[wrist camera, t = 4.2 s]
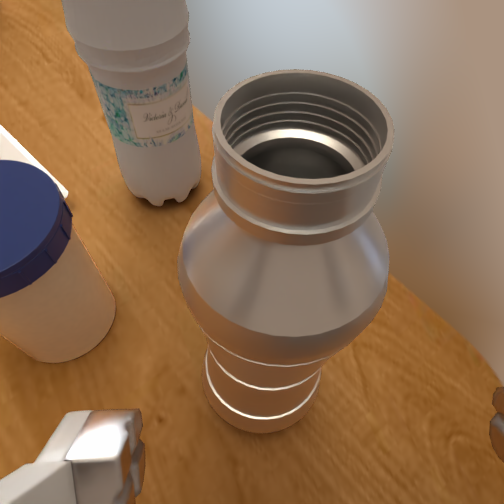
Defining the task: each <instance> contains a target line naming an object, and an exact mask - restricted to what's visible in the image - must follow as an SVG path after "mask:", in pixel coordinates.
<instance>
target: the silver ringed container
mask: <svg viewBox="0 0 504 504" xmlns="http://www.w3.org/2000/svg"><path fill="white" fill-rule="evenodd" d="M212 132H213V142H214V153H215V155H214V158H213V163H212V179H213V188H214V190H213V191H212V192H211V193H210V194H209V195H208V196H207V197H206V198H205V199H204V200H203V201H202V202H201V203H200V205H199V206H198V207H197V209H196V210H195V211H194V213H193V214H192V216H191V218H190V220H189V222H188V225H187V227H186V229H185V232H184V235H183V238H182V241H181V245H180V250H179V255H178V260H177V264H178V279H179V282H180V286H181V289H182V292H183V296H184V298H185V300H186V303H187V306H188V308H189V310H190V312H191V313H192V315H193V317H194V319H195V320H196V322H197V324H198V325H199V327H200V328H201V330H202V332H203V333H204V335H205V336H206V339H207V342H208V347H207V350H206V353H205V356H204V361H203V368H202V383H203V388H204V392H205V395H206V398H207V399H208V401H209V403H210V405H211V407H212V408H213V409H214V410H215V412H216V413H217V414H218V415H219V416H220V417H221V418H222V419H223V420H225V421H226V422H227V423H228V424H230V425H232V426H234V427H236V428H238V429H240V430H244V431H248V432H251V433H271V432H277V431H280V430H283V429H285V428H288V427H290V426H291V425H293V424H295V423H296V422H298V421H299V420H300V419H301V418H302V417H303V416H304V415H305V414H306V413H307V412H308V411H309V409H310V408H311V406H312V405H313V403H314V401H315V399H316V396H317V394H318V390H319V384H320V379H321V367H322V366H323V364H324V363H325V362H326V361H327V360H328V359H329V358H331V357H332V356H333V355H335V354H336V353H337V352H339V351H340V350H342V349H343V348H344V347H346V346H347V345H348V344H350V343H351V342H352V341H353V340H354V339H355V338H356V337H357V336H358V335H359V334H360V333H361V332H362V331H363V330H364V329H365V328H366V327H367V326H368V325H369V324H370V323H371V321H372V320H373V318H374V317H375V315H376V314H377V312H378V311H379V309H380V308H381V305H382V302H383V300H384V297H385V294H386V291H387V282H388V270H389V251H388V245H387V240H386V237H385V235H384V232H383V230H382V227H381V225H380V223H379V221H378V220H377V218H376V216H375V214H374V212H373V208H374V206H375V203H376V201H377V198H378V196H379V193H380V191H381V183H382V174H383V171H384V168H385V166H386V164H387V161H388V159H389V156H390V154H391V152H392V145H393V140H394V126H393V121H392V118H391V116H390V114H389V113H388V111H387V109H386V108H385V106H384V105H383V104H382V103H381V102H380V100H379V99H378V98H376V97H375V96H374V95H373V94H372V93H370V92H369V91H368V90H366V89H365V88H363V87H361V86H359V85H358V84H356V83H354V82H351V81H349V80H347V79H345V78H342V77H339V76H335V75H332V74H328V73H324V72H318V71H312V70H297V69H294V70H278V71H273V72H267V73H263V74H259V75H256V76H253V77H250V78H248V79H246V80H244V81H242V82H240V83H238V84H237V85H235V86H234V87H233V88H231V89H230V90H228V92H227V93H226V94H225V95H224V96H223V97H222V98H221V99H220V101H219V103H218V105H217V107H216V109H215V114H214V120H213V127H212Z"/></svg>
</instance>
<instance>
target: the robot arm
mask: <svg viewBox="0 0 504 504" xmlns="http://www.w3.org/2000/svg"><path fill="white" fill-rule="evenodd" d="M492 405H493V406H494V408H495V409H496V411H497V413H496V414H495V416H494V417H493V418H492V419H491V421H490V429H489V436H490V439H491V443H492V447H493V449H494V450H495V452H496V454H497V456H498V457H499V458H500V459H501V460H502V462H503V463H504V387H497V388H496V390H495V392H494V394H493V400H492ZM142 427H143V423H142V415H141V411H140V409H139V408H138V409H113V410H94V411H92V410H87V411H73V412H69V413H67V414H66V415H65V416H64V418H63V419H62V421H61V422H60V424H59V425H58V427H57V428H56V430H55V431H54V433H53V434H52V436H51V437H50V439H49V441H48V442H47V444H46V445H45V447H44V448H43V450H42V451H41V453H40V454H39V456H38V457H37V459H36V460H35V462H34V463H31V464H25V465H23V466H22V467H20V468H18V469H17V470H15V471H14V472H12V473H11V474H9V475H7V476H6V477H4V478H3V479H1V480H0V504H136V502H135V497H136V496H137V495H138V494H140V493H141V490H142V486H143V482H144V474H145V444H144V443H143V442H142V441H141V440H140V439H139V437H140V434H141V431H142Z"/></svg>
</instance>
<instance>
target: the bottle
mask: <svg viewBox="0 0 504 504" xmlns="http://www.w3.org/2000/svg"><path fill="white" fill-rule="evenodd" d="M61 1H62V5H63V10H64V14H65V21H66V27H67V30H68V32H69V33H70V35H71V36H72V38H73V40H74V42H75V49H76V51H77V53H78V55H79V56H80V58H81V59H82V60H83V61H84V62H85V63H86V64H87V65H88V67H89V70H90V73H91V76H92V79H93V82H94V85H95V88H96V91H97V94H98V97H99V100H100V103H101V106H102V109H103V112H104V115H105V118H106V120H107V123H108V126H109V129H110V132H111V135H112V139H113V143H114V147H115V151H116V155H117V159H118V163H119V167H120V170H121V173H122V176H123V178H124V180H125V182H126V184H127V186H128V188H129V190H130V191H131V192H132V193H133V194H134V195H135V196H136V197H138V198H146V199H147V200H148V201H149V202H150V203H151V204H153V205H155V206H162V205H163V203H164V200H166V199H171V198H174V199H175V200H176V201H177V202H182V201H183V200H185V199H186V198H187V196H188V194H189V192H190V190H191V189H192V188H195V187H196V186H197V185H198V183H199V181H200V177H201V157H200V150H199V145H198V140H197V135H196V131H195V126H194V119H193V109H192V101H191V92H190V84H189V75H188V66H187V58H186V51H187V48H188V45H189V43H190V33H189V31H188V21H189V12H188V9H187V5H186V2H185V0H61Z"/></svg>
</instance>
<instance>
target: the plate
mask: <svg viewBox="0 0 504 504" xmlns="http://www.w3.org/2000/svg"><path fill="white" fill-rule="evenodd" d="M0 160H14V161H20V162H24V163H28V164H31V165H33V166H36V167H37V168H39V169H41V170H43V171H44V172H45V173H46V174H48V175H49V176H50V177H51V179H52V180H53V181H54V183H56V184H57V186H58V187H59V189H60V191H61V193H62V195H63V196H64V199H65V198H66V197H67V195H68V191H67V190H66V189H65V188H64V187H63V186H62V185H61V184H60V183H59V182H58V181H57V180H56V179H55V178H54V177H53V176H52V175H51V174H50V173H49V172H48V171H47V170H46V169H45V168H44V167H43V166H42V165H41V164H40V163H39V162H38V161H37V160H36V159H35V158H34V157H33V156H32V155H31V154H30V153H29V152H28V151H27V150H26V149H25V148H24V147H23V146H22V145H21V144H19V143H18V142H17V141H16V140H15V139H14V138H13V137H12V136H11V135H10V134H9V133H8V132H7V131H6V130H5V129H4V128H3V127H2V126H1V125H0Z"/></svg>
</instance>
